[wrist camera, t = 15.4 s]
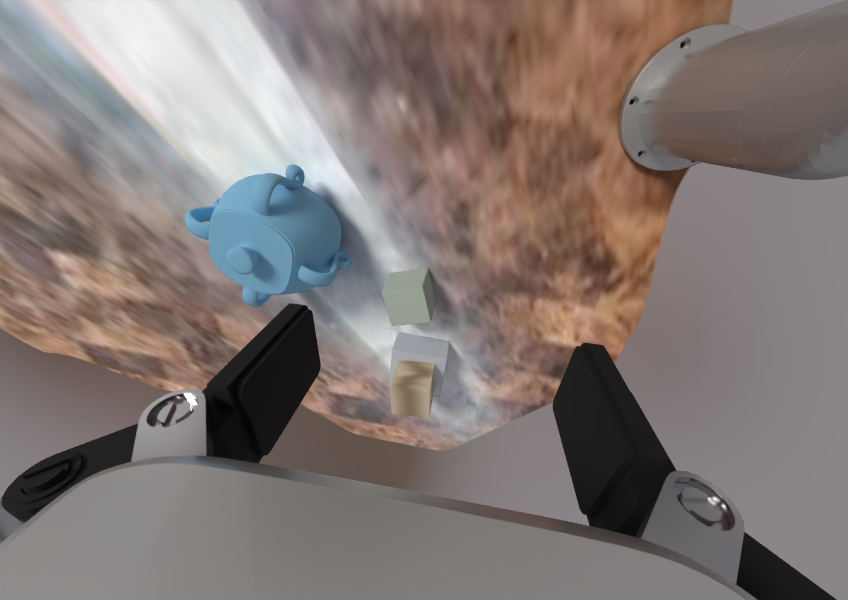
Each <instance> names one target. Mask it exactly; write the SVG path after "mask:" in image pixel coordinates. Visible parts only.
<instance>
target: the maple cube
mask: <svg viewBox="0 0 848 600" xmlns="http://www.w3.org/2000/svg"><path fill="white" fill-rule="evenodd" d="M434 364H435V363H427V362H417V361H407V360H398V363H397V366H396V369H395V372H394V376H393V379H392V382H391V385H390V394H391V407H392V414H399V415H407V416H415V417H423V418H429V417H430V411H431V404H432V398H433V391H434Z"/></svg>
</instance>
